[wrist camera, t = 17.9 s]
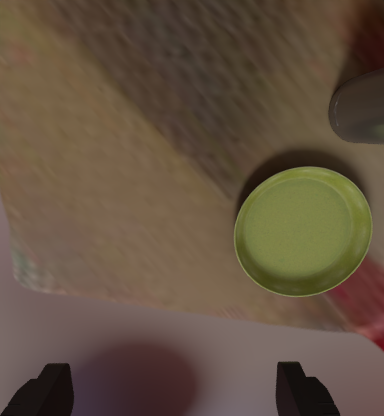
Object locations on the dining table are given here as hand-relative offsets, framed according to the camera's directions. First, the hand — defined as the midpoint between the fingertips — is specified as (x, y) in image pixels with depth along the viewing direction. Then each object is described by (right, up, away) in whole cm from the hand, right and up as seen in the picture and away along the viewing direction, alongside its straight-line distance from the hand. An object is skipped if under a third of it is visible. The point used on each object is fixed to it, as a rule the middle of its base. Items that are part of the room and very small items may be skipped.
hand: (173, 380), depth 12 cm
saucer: (+17, +3, +37) cm, 41 cm away
